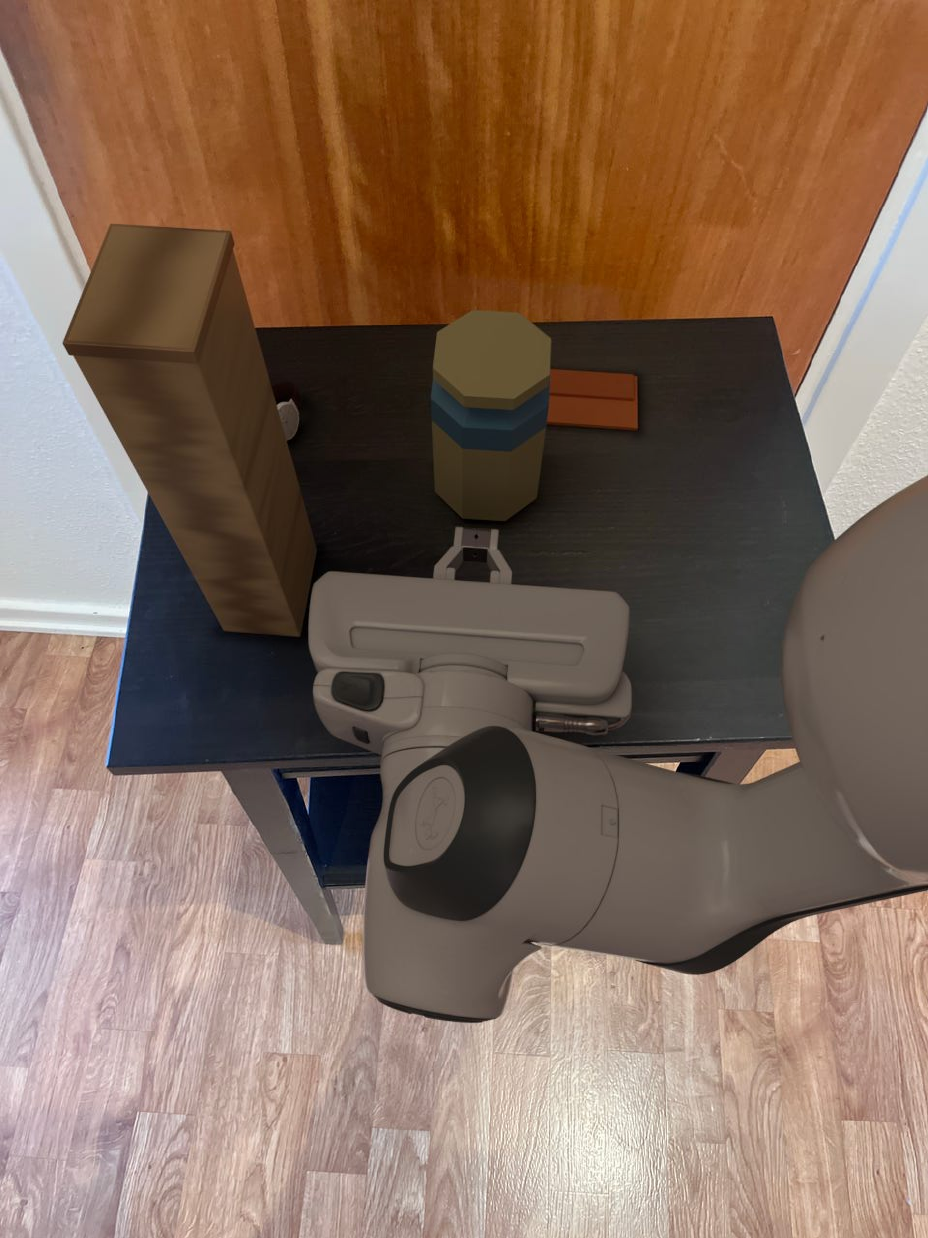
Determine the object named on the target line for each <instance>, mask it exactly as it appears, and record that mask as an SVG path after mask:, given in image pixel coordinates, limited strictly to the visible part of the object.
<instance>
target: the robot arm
mask: <svg viewBox="0 0 928 1238" xmlns="http://www.w3.org/2000/svg"><path fill="white" fill-rule="evenodd" d="M499 532H500V531H499V529H496V528H479V527H465V526H455V529H454V538H453V546H451V547H450V548H448V549H447V551H446V552H445V553H444V554H443V556H441V558H440V559H439V560H438V562H437V563H435V565H434V568H433V576H432V578H431V577H417V576H401V575H390V574H377V573H360V572H349V571H348V572H347V571H335V570H330V571H326V572H325V573H324V574H323V575H322V576H320V577H319V578H318V579H317V580H316V581H315V582H314V583H313V586H312V588H311V593H310V594H311V595H310V603H309V612H308V627H307V628H308V629H307V630H308V631H307V632H308V636H307V637H308V639H307V640H308V650H309V653H310V656H311V659H312V662H313V665H314V668H315V670H316V673H317V674H316V676H315V678H314V682H313V687H312V698H313V704H314V708H315V711H316V713H317V716H318V718H319V720H320V721H321V723H322V724H323V726H324V727H325V729H326V731H328V733H329V734H330V735H332V736H334V737H335V738H337V739H338V740H339V739H340V740H342V741H344V742H347V743H349V744H352V745H355V746H357V747H360V748H362V749H365V750H367V751H370V752H372V753H374V754H377V755H379V756H381V759H380V767H379V775H380V782H381V787H382V802H381V809H380V813H379V816H378V818H377V821H376V823H375V825H374V828H373V830H372V832H371V835H370V842H369V849H368V857H367V863H366V873H365V874H366V875H365V884H364V887H365V888H364V896H363V897H364V898H363V914H362V915H363V916H362V961H363V964H362V965H363V975H364V976H363V977H364V983H365V987H366V990H367V991H368V993H369V994H371V996H373V997H374V998H375V999H376V1000H377V1001H378V1002H379V1003H381V1004H382V1005H384V1006H386V1007H388V1008H390V1009H393V1010H395V1011H399V1012H402V1013H404V1014H408V1015H412V1014H413V1015H416V1016H422V1017H425V1018H426V1019H430V1020H437V1021H441V1022H442V1021H443V1022H449V1023H450V1022H451V1023H463V1024H481V1023H483V1022H489V1021H493V1020H496V1019H499V1018H500V1017H501V1016H502V1015H503V1014H504V1012H505V1009H506V1006H507V1003H508V999H509V996H510V992H511V991H510V990H511V986H512V982H513V975H514V971H515V969H516V968H517V967H518V966H519V965H520V964H521V963H522V962H523V961H524V960H525V959H527V958H528V957H529V956H531V955H533V954H534V953H537V952H538V951H541V950H543V949H542V948H543V947H542V946H541V945H544V946H549V947H555V948H559V949H566V950H567V949H568V950H574V951H580V952H586V953H592V954H597V955H603V956H609V957H616V958H621V959H626V960H627V959H628V960H634V961H636V962H638V963H642V964H645V965H649V966H652V967H657V968H660V969H664V970H669V971H672V972H676V973H680V974H684V975H691V976H692V975H693V976H700V975H706V974H707V975H708V974H711V973H714V972H718V971H720V970H722V969H724V968H726V967H728V966H730V965H731V964H733V963H735V962H736V961H738V960H740V959H741V958H742V957H743V956H745V955H746V954H748V953H749V952H750V951H751V950H753V949H754V948H755V947H756V946H757V945H759V944H761V943H762V942H763V941H764V940H766V939H767V938H768V937H770V936H771V935H772V934H774V933H775V932H777V931H778V930H781V929H782V928H784V927H786V926H788V925H789V924H792V923H794V922H797V921H799V920H802V919H805V918H808V917H812V916H816V915H821V914H826V913H830V912H834V911H839V910H844V909H850V908H853V907H858V906H862V905H863V906H864V905H867V904H872V903H877V902H881V901H885V900H890V899H894V898H899V897H904V896H909V895H913V894H918V893H922V892H927V891H928V474H926V475H925V476H923V477H922V478H920V479H918V480H916V481H915V482H913V483H911V484H909V485H907V486H906V487H904V488H903V489H901V490H899V491H898V492H896V493H894V494H893V495H891V496H889V497H888V498H886V499H885V500H883V501H882V502H880V503H879V504H878V505H876V506H875V507H873V508H871V509H870V510H869V511H868V512H866V513H865V514H864V515H862V516H861V517H860V518H858V519H857V520H856V521H855V522H854V523H852V524H851V525H850V526H849V527H847V529H845V530H844V531H843V532H842V533H841V534H840V535H839V536H837V537H836V539H834V540H833V541H832V542H831V543H830V544H829V545H828V546H827V547H825V549H824V550H823V551H822V552H821V553H820V554H819V555H818V556H817V557H816V558H815V559H814V560H813V562H812V563H811V564H809V565H810V566H809V567H808V568H807V570H806V572H805V574H804V576H803V578H802V580H801V582H800V584H799V586H798V589H797V590H796V592H795V595H794V599H793V602H792V603H791V608H790V610H789V613H788V616H787V619H786V623H785V629H784V633H783V638H782V643H781V654H780V655H781V658H780V682H781V691H782V693H781V694H782V701H783V708H784V712H785V713H784V714H785V718H786V722H787V726H788V730H789V731H788V732H789V733H790V737H791V741H792V743H793V744H792V745H793V746H794V749H795V753H796V755H797V757H798V760H799V761H798V762H796V763H793V764H790V765H789V766H787V767H784V768H782V769H780V770H778V771H775V772H772V774H768V775H766V776H764V777H762V778H760V779H757V780H754V781H753V782H749V783H733V782H729V781H727V780H722V779H717V778H713V777H709V776H704V775H699V774H696V773H689V772H683V771H682V772H679V771H675V770H672V769H668V768H664V767H661V766H657V765H654V764H650V763H646V762H643V761H639V760H635V759H631V758H628V757H625V756H620V755H617V754H613V753H610V752H606V751H602V750H600V749H595V748H591V747H589V746H587V745H583V744H579V743H577V742H573V741H569V740H566V739H562V738H558V737H554V736H552V735H551V736H550V735H547V734H543V733H551V734H552V733H553V734H569V733H570V734H572V733H573V734H584V735H585V736H589V737H603V736H606V735H608V731H614V730H617V729H619V728H621V727H623V726H624V725H625V724H626V723H627V722H628V720H629V719H630V718H631V715H632V711H633V686H632V683H631V679H630V678H629V676H628V675H627V674H626V672H624V671H623V668H624V662H625V658H626V653H627V647H628V640H629V639H628V638H629V631H630V630H629V629H630V617H631V616H630V614H631V613H630V610H631V609H630V606H629V604H628V602H626V600H625V599H624V598H623V597H622V596H621V595H620V593H618V592H616V591H611V590H597V589H581V588H571V587H556V586H542V585H529V584H528V585H527V584H514V583H513V584H512V579H513V571H512V569H511V567H510V565H509V564H508V562H507V561H506V559H505V557H504V555H503V554H502V552H501V551H500V550H499V549H498V547H499ZM464 562H475V563H485V564H486V565H487V566H488V569H489V571H490V577H489V578H490V579H489V582H488V581H487V582H486V581H485V582H484V581H474V580H473V581H472V580H471V581H470V580H457V579H456V572H457V570H458V569H459V568H460V567H461V566H462V564H463V563H464ZM609 721H610V723H609ZM538 944H540V945H538Z"/></svg>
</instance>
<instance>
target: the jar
mask: <svg viewBox="0 0 928 1238" xmlns="http://www.w3.org/2000/svg"><path fill="white" fill-rule="evenodd" d="M434 346H435V347H434V355H433V362H432V383H431V384H432V386H431V392H430V413H431V414H430V415H431V433H432V434H431V435H432V457H433V459H432V460H433V479H434V482H433V483H434V493H435V494H437V495H438V497H440V498H441V500H442V501H444V502H445V504H447V505H448V506H449V507H450V508H451V509H452V511H454V512H455V513H456V514H457V515H458V516H459V517H460V518H461V519H467V520H481V521H483V520H484V521H497V522H498V521H500V522H506V521H508V520H509V519H510V518H511V517H513V516H514V515H516V514H517V513H518V512H520V511H521V510H522V509H524V508H525V507H527V506H528V505H529V504H531V503H532V502H533V501H535V500H537V497H538V490H539V484H540V477H541V470H542V461H543V454H544V447H545V439H546V431H547V418H548V410H549V397H550V369H552V368H551V358H552V357H551V356H552V355H551V354H552V338H551V337H550V336H549V335H547V334H546V333H545V332H544V331H543V330H542V329H540V328H539V327H538V326H536V324H534V323H533V322H532V321H530V320H529V319H528V318H527V317H525V316H524V315H523V314H522V313H521V312H517V311H499V310H482V309H481V310H480V309H472V310H470V311H468V312H467V313H465V314H464V315H462V316H460V317H459V318H457V319H456V320H454V321H453V322H451V323H449V324H448V325H446V326H444V327H443V328H441V329H440V330H438V331H437V332H436V338H435V345H434Z"/></svg>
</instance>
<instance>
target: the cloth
mask: <svg viewBox="0 0 928 1238" xmlns="http://www.w3.org/2000/svg"><path fill="white" fill-rule="evenodd" d="M638 403H639V401H638V376H637V375H634V374H632V373H620V372H619V373H618V372H603V371H587V370H586V371H585V370H569V369H557V368H556V369H555V368H551V369H550V397H549V410H548V418H547V425H548V426H564V427H575V428H576V427H578V428H592V429H607V430H622V431H638V429H639V410H638V409H639V405H638ZM547 425H546V426H547Z"/></svg>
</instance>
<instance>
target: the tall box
mask: <svg viewBox="0 0 928 1238" xmlns="http://www.w3.org/2000/svg"><path fill="white" fill-rule="evenodd" d="M234 248H235V240H234V238H233V234H232V231H231V230H223V229H221V230H220V229H204V228H189V227H188V228H187V227H176V226H175V227H173V226H172V227H171V226H158V225H157V226H156V225H155V226H154V225H140V224H139V225H138V224H124V223H122V224H121V223H110V224H109V225H108V228H107V231H106V233H105V236H104V238H103V240H102V243H101V246H100V248H99V251H98V253H97V255H96V258H95V261H94V263H93V266H92V268H91V270H90V273H89V275H88V278H87V280H86V283H85V285H84V288H83V290H82V293H81V294H80V297H79V300H78V302H77V306H76V308H75V310H74V312H73V315H72V318H71V320H70V323H69V325H68V328H67V330H66V332H65V335H64V337H63V339H62V345H63V348H64V350H65V351H66V353H67V355H68V356H71V357H72V356H73V358H74V360H75V362H76V364H77V365H78V368H79V369H80V371H81V373H82V375H83V376H84V378H85V380H86V382H87V384H88V386H89V387H90V389H91V391H92V393H93V395H94V397H95V398H96V400H97V402H98V404H99V406H100V407H101V409H102V411H103V413H104V415H105V417H106V418H107V420H108V422H109V424H110V426H111V427H112V430H113V432H114V433H115V435H116V437H117V439H118V440H119V442H120V444H121V446H122V448H123V449H124V451H125V453H126V455H127V457H128V459H129V460H130V462H131V464H132V466H133V467H134V470H135V471H136V473H137V475H138V477H139V479H140V481H141V482H142V484H143V486H144V488H145V490H146V492H147V493H148V495H149V497H150V499H151V501H152V502H153V504H154V506H155V508H156V510H157V512H158V514H159V515H160V517H161V519H162V521H163V523H164V524H165V526H166V529H167V530H168V532H169V533H170V535H171V537H172V539H173V541H174V543H175V544H176V546H177V548H178V550H179V552H180V554H181V555H182V557H183V559H184V561H185V563H186V564H187V566H188V568H189V570H190V572H191V573H192V576H193V577H194V579H195V581H196V583H197V584H198V586H199V589H200V590H201V592H202V594H203V595H204V597H205V599H206V601H207V603H208V605H209V607H210V608H211V610H212V612H213V614H214V616H215V618H216V619H217V621H218V623H219V625H220V626H221V628H222V630H223V632H231V633H245V634H256V635H257V634H258V635H259V634H260V635H271V636H283V637H298V638H300V637H301V636H302V631H303V630H302V629H303V626H304V619H305V615H306V609H307V604H308V599H309V594H310V588H311V583H312V578H313V572H314V568H315V564H316V563H315V562H316V557H317V553H318V548H317V545H316V541H315V539H314V538H315V537H314V535H313V530H312V527H311V523H310V520H309V517H308V512H307V509H306V506H305V502H304V498H303V495H302V492H301V488H300V484H299V480H298V476H297V473H296V470H295V466H294V463H293V460H292V456H291V451H290V449H289V444H288V440H287V441H286V437H285V433H284V430H283V426H282V423H281V419H280V416H279V412H278V408H277V405H278V404H277V401H275V398H274V394H273V390H272V387H271V386H272V384H271V380H270V377H269V373H268V370H267V366H266V362H265V359H264V355H263V351H262V348H261V344H260V341H259V337H258V333H257V330H256V327H255V322H254V320H253V316H252V312H251V308H250V305H249V302H248V298H247V295H246V291H245V287H244V284H243V280H242V276H241V272H240V269H239V266H238V261H237V258H236V255H235V252H234Z"/></svg>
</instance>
